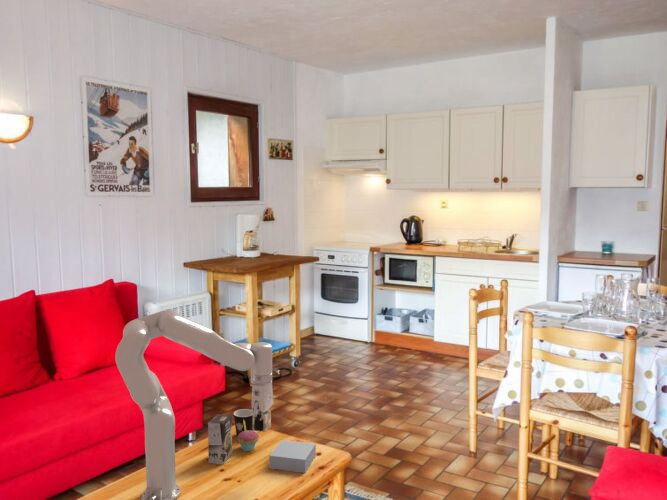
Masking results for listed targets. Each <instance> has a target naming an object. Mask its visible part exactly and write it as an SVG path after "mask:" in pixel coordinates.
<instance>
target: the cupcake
mask: <svg viewBox="0 0 667 500" xmlns="http://www.w3.org/2000/svg"><path fill="white" fill-rule="evenodd" d="M243 423H244V430H245V431H243V432H241V433H240V434H239V435H238V436H237V435H236V439H237V442H238V443H239V445H240V447H241V449H242V451H245V452H249V451H253V450H254V449H255V447H256V446H255V445H256V443H258V441H259V438H260V437H259V434H258V432H257V431H252V430H247V431H246V425H245V421H244V419H243Z"/></svg>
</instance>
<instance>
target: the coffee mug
mask: <svg viewBox="0 0 667 500" xmlns="http://www.w3.org/2000/svg"><path fill="white" fill-rule="evenodd" d="M243 419H244V421H245V425H246V431H247V430H252V431H253V411H252V409H249V408H244V409H237V410H235V411H234V412H233V420H234V427H235V434H236V437H237V436H238V435H239V434H240V433H241V432H243V431H245V430H244V423H243Z"/></svg>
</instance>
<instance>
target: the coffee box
mask: <svg viewBox="0 0 667 500" xmlns="http://www.w3.org/2000/svg"><path fill="white" fill-rule="evenodd" d="M232 420H233V419H232V415H231V414H221V413H217V414H216V415H214V416H213V417H212V418H211V419H210V420H209V421H208V422H207V432H208V433H207V434H208V435H207V436H208V438H207V441H208V444H207V445H208V446H207V447H208V448H207V449H208V450H207V451H208V464H217V465H224V464H225V463H226V462H227V461H228V459H229V458H230V457H231V456H233V433H232V432H233V429H232V427H233V425H232V424H233V422H232Z"/></svg>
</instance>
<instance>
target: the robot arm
mask: <svg viewBox="0 0 667 500" xmlns="http://www.w3.org/2000/svg"><path fill="white" fill-rule="evenodd" d="M122 331H123V332H122V339H121V340H120V342H119V343H118V345H117V348H116V351H115V364H116V366H117V369H118V371H119V373H120V375H121V377H122V379H123V382H124V384H125V386H126V388H127V389H128V391H129V393H130V397H131V398H132V400H133V401H134V402H135V403H136V404H137V405H138V407H139V408H140V410H141V411H142V414H143V420H144V421H143V423H144V449H145V472H146V473H145V478H146V488H145V489H144V490H143V491H142V493H141V498H140V500H176V499H177V498H179V496H180V495H181V486H179V485H178V484H177V482H176V481H177V478H176V477H177V476H176V448H175V447H176V446H175V445H176V443H175V438H176V437H175V435H176V434H175V433H176V432H175V430H176V418H175V414H174V411H173V408H172V404H171V402H170V400H169V397H168V395H167V393H166V392H165V390H164V387H163V385H162V384H161V382H160V380H159V378H158V376H157V375H156V373H154V372H153V371H152V370H150V368H149V366H148V364H147V362H146V359H145V358H144V353H145V351H146V349H147V347H148V346H149V344H150V343H151V340H153V339H157V338H159V337H164V338H166V339H167V340H170V341H172V342H175V343H177V344H179V345H181V346H185V347H186V348H189V349H191V350H194V351H196V352H198V353H200V354H202V355H204V356H205V357H208V358H210V359H211V360H213V361H216V362H218V363H220V364H221V365H222V364H223V365H224V366H226V367H229V368H231V369H234V370H237V371H240V372H246V371H248V370H250V383H251V384H252V386H251V387H252V388H251V410H252V411H253V416H254V430H258V431H257V432H261V431H263V420H262V417H263V413H264V412H266V411H267V410H270V408H271V407H272V406H273V404H274V391H273V390H274V389H273V346H272V344H271V343H269V342H266V341H261V342H254V343H253V342H252V343H248V342H236V343H232V342H230V341H228V340H226V339H225V338H223V337H222V336H220V335H219V334H218V333H217V332H215V331H214V330H213V329H211V328H209V327H208V326H206V325H202V324H200V323H198V322H195V321H194V320H191V319H189V318H186V317H185V316H182V315H181V314H180V313H179V312H178V311H176V310H175V309H165V310H161V311H157V312H155V313H152V314H148V315H145V316H142V317H138V318H135V319H133V320H131V321H129V322H128V323H126V325H124V327H123V330H122ZM258 409H260V411H258ZM258 413H260V415H259V414H258Z"/></svg>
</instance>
